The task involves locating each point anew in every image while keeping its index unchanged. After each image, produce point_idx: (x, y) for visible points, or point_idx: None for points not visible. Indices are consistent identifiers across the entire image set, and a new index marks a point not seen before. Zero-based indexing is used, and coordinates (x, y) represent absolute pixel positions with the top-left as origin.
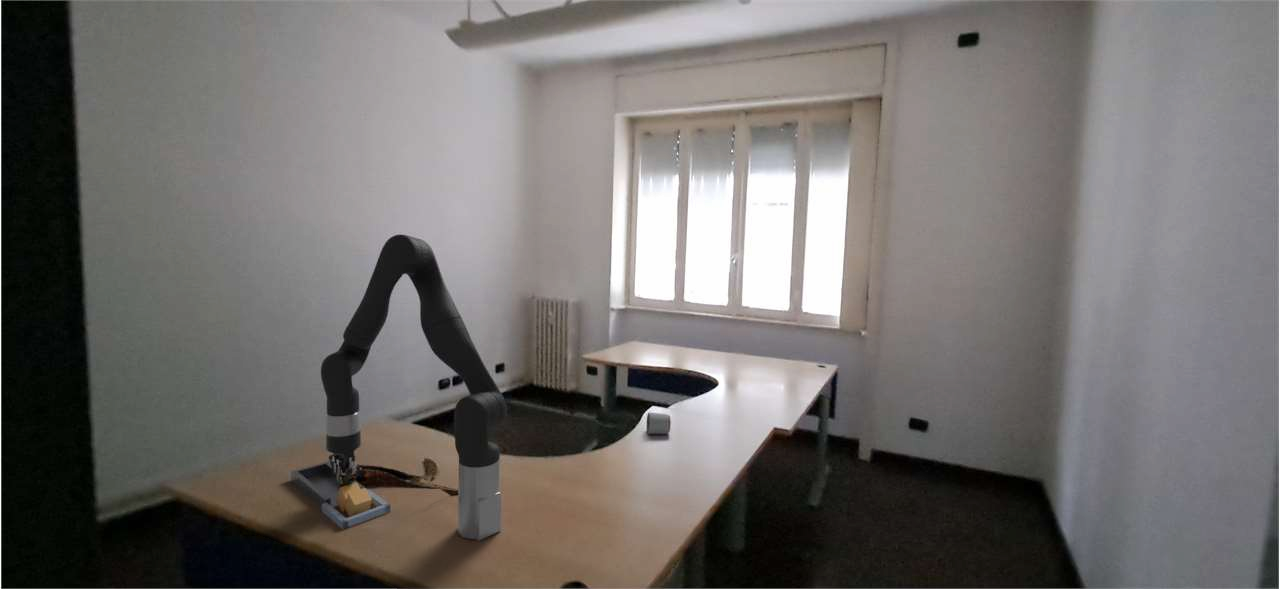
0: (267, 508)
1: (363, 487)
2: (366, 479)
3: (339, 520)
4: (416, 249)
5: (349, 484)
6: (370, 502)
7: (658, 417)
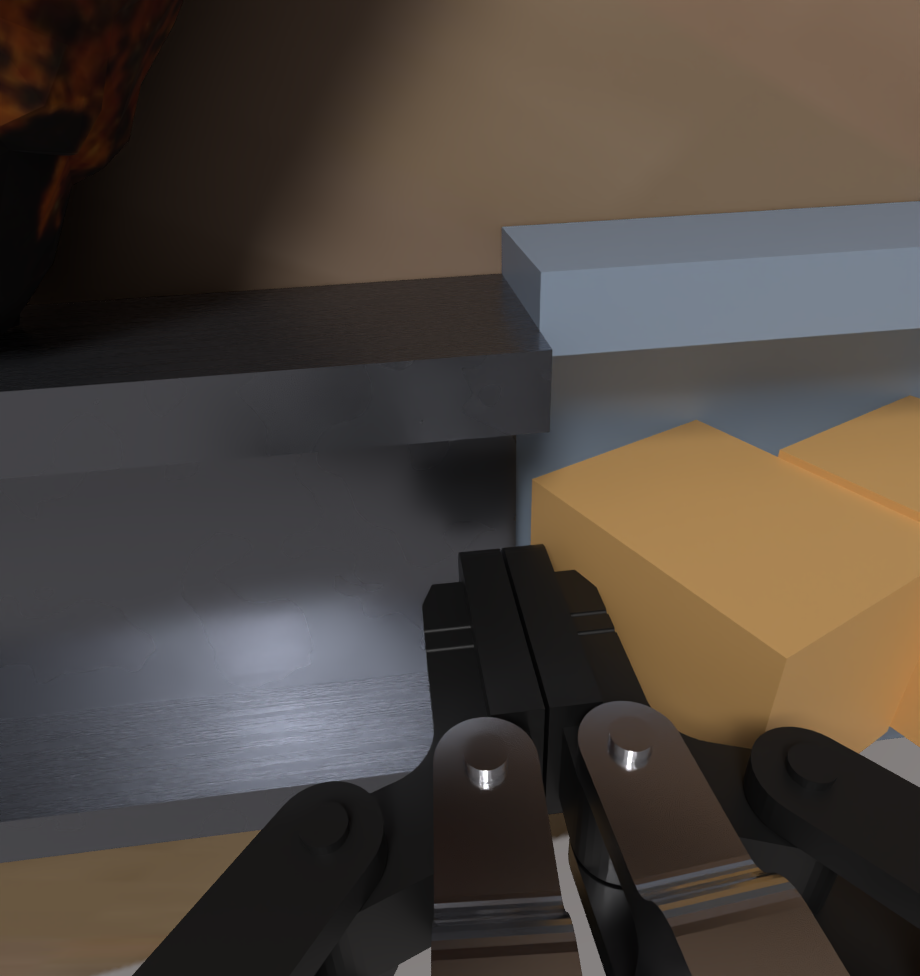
0: (52, 898)
1: (549, 374)
2: (71, 128)
3: None
4: None
5: (647, 701)
6: None
7: None
